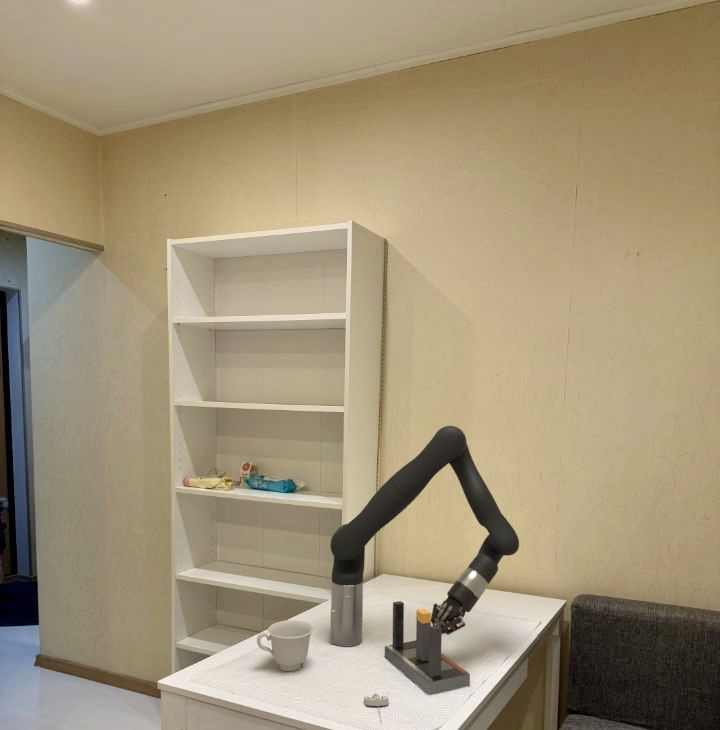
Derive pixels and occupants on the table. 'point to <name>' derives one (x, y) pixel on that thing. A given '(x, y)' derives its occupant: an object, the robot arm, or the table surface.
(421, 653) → the lever
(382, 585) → the table surface
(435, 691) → the pillared base stand
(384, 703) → the game controller
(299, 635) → the teacup
